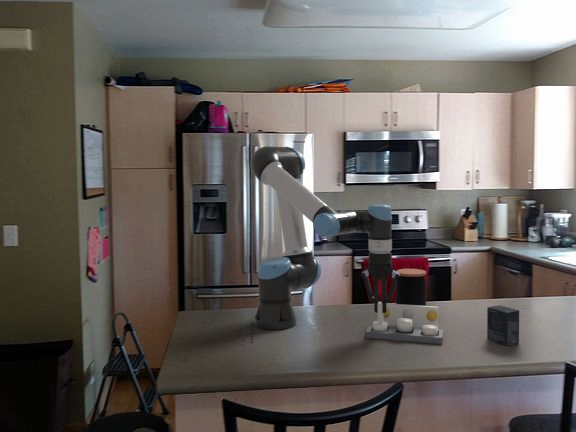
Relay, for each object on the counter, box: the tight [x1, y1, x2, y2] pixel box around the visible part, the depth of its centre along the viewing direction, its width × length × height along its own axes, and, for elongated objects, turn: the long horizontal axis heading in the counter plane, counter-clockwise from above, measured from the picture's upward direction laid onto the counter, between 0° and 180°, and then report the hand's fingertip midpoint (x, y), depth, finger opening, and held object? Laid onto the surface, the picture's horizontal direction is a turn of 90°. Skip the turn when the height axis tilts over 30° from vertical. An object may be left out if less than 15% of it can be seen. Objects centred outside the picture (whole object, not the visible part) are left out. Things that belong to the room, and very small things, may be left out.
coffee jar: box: [395, 268, 427, 306], centre depth 188 cm, size 11×11×18 cm
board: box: [365, 323, 444, 345], centre depth 170 cm, size 24×9×2 cm, turn 71°
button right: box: [422, 325, 439, 336], centre depth 167 cm, size 5×5×3 cm
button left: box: [372, 320, 388, 332], centre depth 172 cm, size 5×5×3 cm
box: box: [486, 304, 520, 346], centre depth 163 cm, size 8×6×11 cm
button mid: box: [397, 318, 412, 332], centre depth 170 cm, size 5×5×3 cm
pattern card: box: [383, 302, 439, 328], centre depth 179 cm, size 20×1×8 cm, turn 71°
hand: (380, 322), depth 172 cm, fingers closed
